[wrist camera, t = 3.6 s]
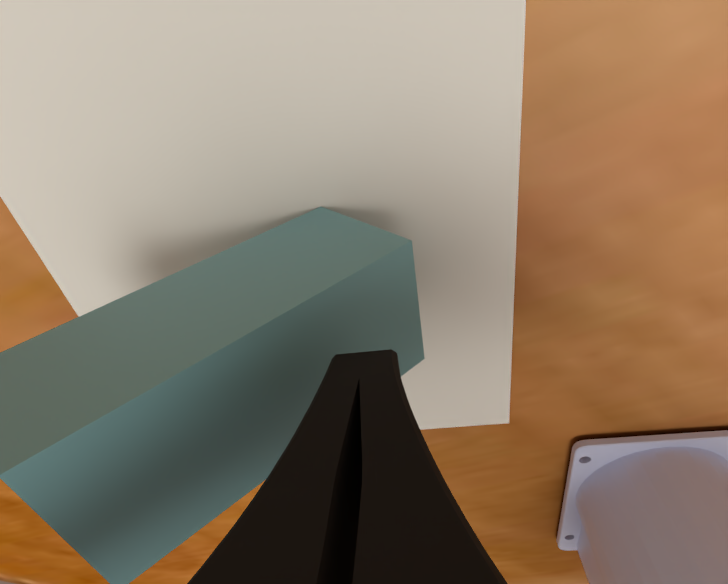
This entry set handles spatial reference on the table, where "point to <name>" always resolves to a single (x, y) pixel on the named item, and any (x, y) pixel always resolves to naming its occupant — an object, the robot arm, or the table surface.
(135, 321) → the teal block
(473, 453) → the table surface
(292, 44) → the white mat
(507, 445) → the table surface
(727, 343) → the table surface
